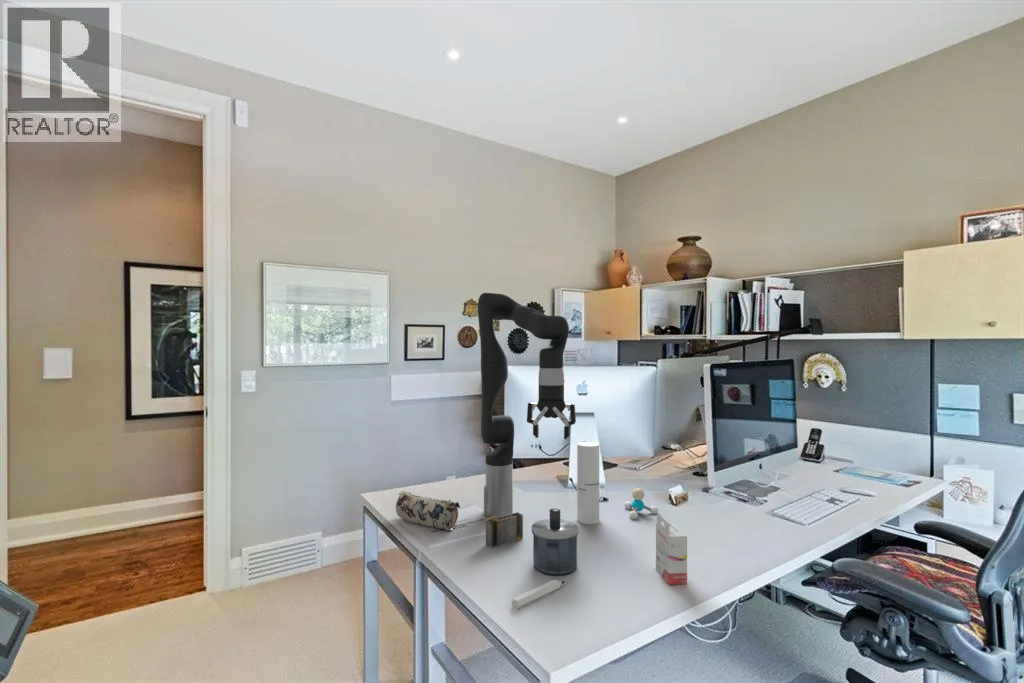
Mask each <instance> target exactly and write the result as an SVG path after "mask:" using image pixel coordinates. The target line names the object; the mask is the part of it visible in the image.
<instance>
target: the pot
mask: <svg viewBox="0 0 1024 683" xmlns="http://www.w3.org/2000/svg"><path fill="white" fill-rule="evenodd" d="M532 535H533V534H532ZM532 539H533V544H532V545H533V546H532V547H533V549H532V550H533V553H532V554H533V555H532V556H533V557H532V558H533V567H534V569H535V570H536V571H537V572H539V573H541V574H542V575H546V576H549V577H550V576H551V577H565V576H568V575H572V574H573V573H575V572H576V570H577V569H578V535H577V536H576V537H575V538H573V539H570V540H565V541H550V540H544V539H541V538H538V537H536V536H535V535H533V536H532Z"/></svg>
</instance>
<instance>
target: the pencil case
mask: <svg viewBox="0 0 1024 683" xmlns="http://www.w3.org/2000/svg"><path fill="white" fill-rule="evenodd" d="M458 508H459V509H460V508H461V506H460V503H459V502H458V501H457V502H456V501H454V500H451V499H448V500H445V498H441V499H438V498H431V497H428V496H421V495H415V494H412V493H411V492H409V491H405V490H401V491H400V492H399V493H398V498H397V500H396V503H395V511H396V515H397V516H398V517H399V518H401V519H402V520H404V521H407V522H409V521H410V523H413V524H417V523H418V524H417V525H421V524H422V525H421V526H425V525H427V526H426V527H429V526H432V527H431V528H435V527H436V528H435V529H439V528H442V529H441V530H444V529H446V530H445V531H447V530H450V529H451V528H453V527H454V526H456V523H457V520H458V518H459V509H458ZM454 528H455V527H454Z"/></svg>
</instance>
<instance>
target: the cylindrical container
mask: <svg viewBox="0 0 1024 683" xmlns="http://www.w3.org/2000/svg"><path fill="white" fill-rule="evenodd" d="M576 446H577V447H576V450H577V451H576V452H577V453H576V454H577V456H576V460H577V461H576V463H577V464H576V466H577V468H576V474H577V475H576V477H577V478H576V480H577V481H576V485H577V487H576V496H577V497H576V500H577V504H576V506H577V507H576V512H577V513H576V515H577V516H576V519H577V521H578V522H579V523H580V524H585V525H596V524H598V523H599V522H600V443H598V442H595V441H579V442H577V443H576Z"/></svg>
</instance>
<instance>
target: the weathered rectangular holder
mask: <svg viewBox="0 0 1024 683" xmlns="http://www.w3.org/2000/svg"><path fill="white" fill-rule="evenodd" d="M497 516H498V514H497V515H496V516H491V517H489V516H487V517H486V518H487V519H486V520H485V545H486V547H488V548H489V549H492V547H493V546H492V545H493V544H496V547H500V546H503V545H506V544H510V543H513V542H517V541H520V540H523V539H524V515H523V513H520V512H517V511H516V512H513V513H512V514H508V515H504V516H500V517H497Z"/></svg>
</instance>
